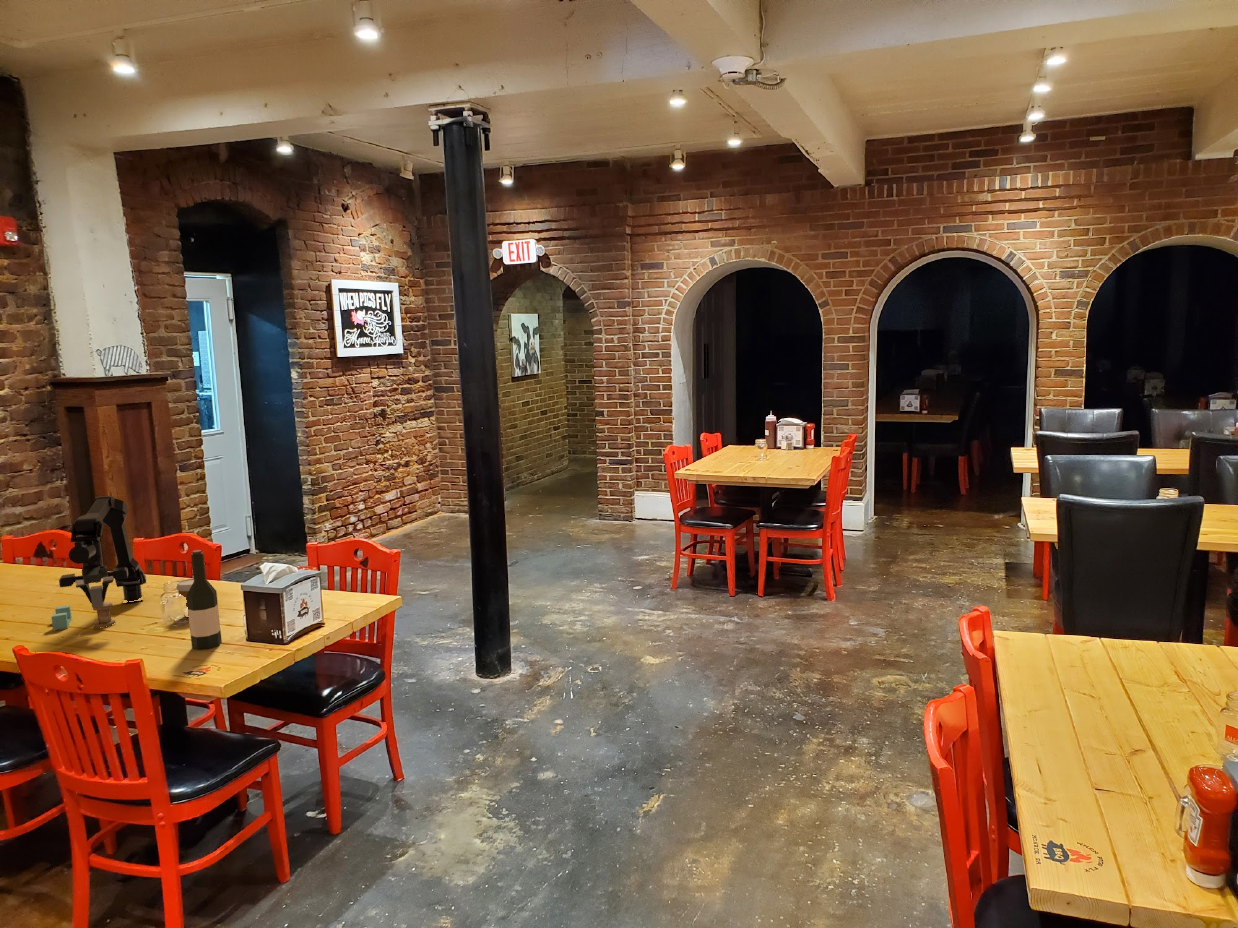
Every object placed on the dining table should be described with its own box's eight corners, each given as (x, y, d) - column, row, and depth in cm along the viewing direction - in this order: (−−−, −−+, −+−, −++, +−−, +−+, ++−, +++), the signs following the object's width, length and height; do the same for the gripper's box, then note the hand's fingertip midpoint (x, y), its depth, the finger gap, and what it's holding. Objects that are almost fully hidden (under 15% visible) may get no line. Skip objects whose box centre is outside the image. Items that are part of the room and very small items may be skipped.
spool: (95, 624, 281) (93, 604, 280) (116, 620, 284) (113, 601, 283) (93, 629, 276) (91, 608, 275) (114, 625, 278) (112, 605, 277)
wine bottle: (209, 650, 252) (199, 554, 248) (185, 649, 254) (175, 554, 250) (227, 641, 260) (218, 547, 256) (204, 639, 262) (194, 547, 258)
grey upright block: (93, 604, 273) (90, 586, 272) (103, 602, 275) (101, 585, 274) (92, 607, 270) (89, 589, 269) (102, 605, 271) (100, 588, 270)
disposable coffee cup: (215, 613, 289) (212, 579, 287) (188, 621, 281) (185, 586, 279) (200, 609, 294) (197, 576, 292) (174, 616, 286) (170, 583, 284)
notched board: (58, 620, 286) (56, 606, 285) (71, 618, 288) (70, 604, 287) (53, 630, 276) (51, 616, 275) (67, 628, 277) (65, 614, 277)
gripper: (54, 565, 258) (60, 614, 261) (123, 557, 267) (129, 603, 269) (58, 558, 268) (64, 604, 271) (125, 549, 277) (130, 594, 279)
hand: (97, 602), depth 272 cm, fingers closed on grey upright block, 3 cm apart
